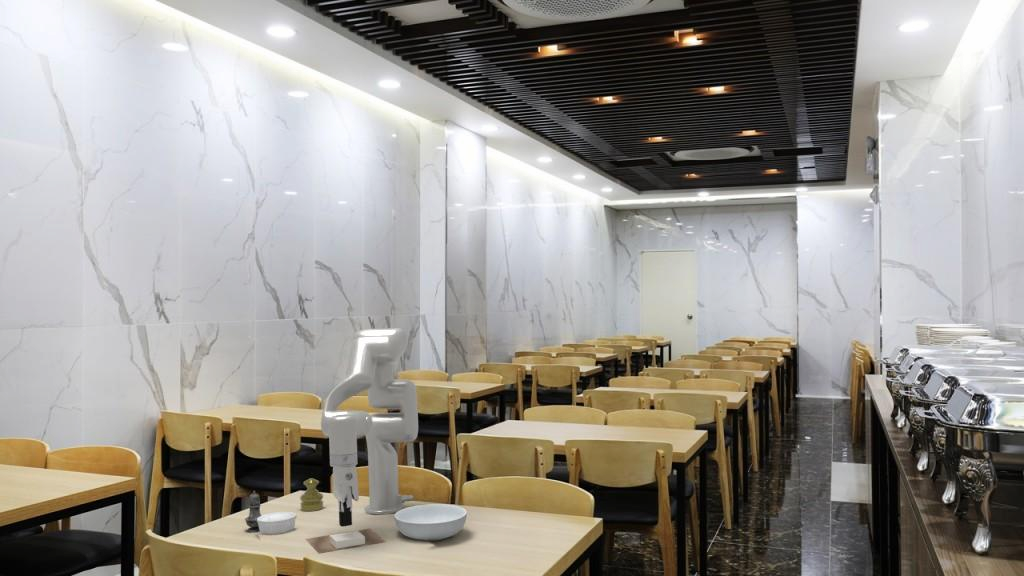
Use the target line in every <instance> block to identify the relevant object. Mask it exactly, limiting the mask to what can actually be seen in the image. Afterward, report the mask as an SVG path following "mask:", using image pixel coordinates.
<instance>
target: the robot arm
mask: <svg viewBox="0 0 1024 576" xmlns="http://www.w3.org/2000/svg"><path fill="white" fill-rule="evenodd" d="M408 344H409V336H408V334H407V331H405V330H404V328H403V329H402V328H401V327H392V328H365V329H360V330H358V331H356V332H355V333H354V336H353V341H352V344H351V347H350V352H349V357H348V361H347V368H346V371H345V377H344V379H343V380H341V381H340V382H339V383H338V384H337V385H336V386H334V388H333V389H332V390H331V391H330V393H329V394H328V395H327V396H326V399H325V400H324V401H325V402H324V405H323V410H322V413H321V414H322V415H321V420H320V421H321V422H320V428H321V432H322V434H323V435H324V436H326V437H328V439H329V440H328V441H329V443H328V444H329V445H328V446H329V466H330V467H332V484H333V485H332V486H333V487H332V491H333V496H334V498H335V499H337V501H338V520H339V521H338V523H339V524H338V525H339V526H340V527H343V528H344V527H348V526H352V525H353V512H352V511H353V510H352V509H353V500H354V501H355V502H358V501H359V498H360V497H359V496H360V494H359V480H358V474H357V473H358V471H357V467H356V466H357V465H358V443H357V442H358V440H357V439H358V438H360V437H364V436H365V439H366V440H365V441H366V445H367V461H368V463H367V466H368V490H369V492H368V493H369V504H368V505H366V506H365V507H364V512H365V513H367V514H369V515H390V514H395V513H396V512H398V511H399V510H402V509H405V506H404V505H405V504H404V503H405V502H413V501H414V495H412V494H411V495H410V494H409V495H407V494H403V495H402V494H400V492H399V469H398V468H399V467H398V465H399V463H398V461H399V459H398V458H399V456H398V453H397V451H396V450H395V447H393V445H392V444H391V443H411V442H414V441H415V440H416V439H417V438H418V434H419V416H418V415H419V413H418V412H419V411H418V408H419V407H418V393H417V387H416V385H415V383H414V382H413V381H412V380H410V379H395V377H394V365H393V363H394V362H397V361H398V360H399V359H400V358H401V357H402V356H403V355H404V354H405V353H406V351H407V349H408V346H409V345H408ZM365 391H367V399H368V404H369V406H370V407H371V408H373V409H377V410H401V412H377V413H372V414H369V412H367V411H366V410H359V409H358V410H347V409H346V410H338V409H339V407H340V405H342V404H343V402H345V401H347V400H348V399H351V398H352V397H354V396H356V395H359V394H361V393H363V392H365Z"/></svg>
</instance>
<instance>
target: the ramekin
mask: <svg viewBox="0 0 1024 576" xmlns="http://www.w3.org/2000/svg"><path fill="white" fill-rule="evenodd" d="M261 515H262V516H260V517H258V518H257V523H258V525H259V530H260V531H259V533H260V534H261V535H280V534H284V533H289V532H291V531H293V530H294V529H295V526H296V525H295V524H296V519H297V514H296V513H295V512H293V511H276V512H270V513H265V514H261ZM260 534H259V535H260Z"/></svg>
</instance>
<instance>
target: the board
mask: <svg viewBox="0 0 1024 576" xmlns="http://www.w3.org/2000/svg"><path fill="white" fill-rule="evenodd" d="M353 531H354V530H353ZM353 531H350V532H353ZM356 531H359V532H360V533H361V534H362V535H363V536H365V544H364V545H359V546H353V547H347V548H341V549H336V548H335V547H334V546H333V545H332V544H331V543H330V535H331V534H327V535H323V536H322V535H321V536H315V537H309V538H305V540H306V542H307V543H308V544H309V546H311V547H312V548H313V549H314V550H315V551H316V552H317V554H318V555H319V554H325V553H330V552H331V553H332V552H336V551H337V552H338V551H343V550H349V549H355V548H360V547H366V546H372V545H376V544H383V543H388V542H387V540H385V539H384V538H383V537H382V536H380V535H379V534H377V533H376V532H375V531H374V530H372V529H371V528H364V529H359V530H356ZM347 532H348V531H346V532H344V533H347ZM341 533H342V532H340V533H338V534H341ZM335 534H336V533H334V534H333V533H332V535H335Z"/></svg>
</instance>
